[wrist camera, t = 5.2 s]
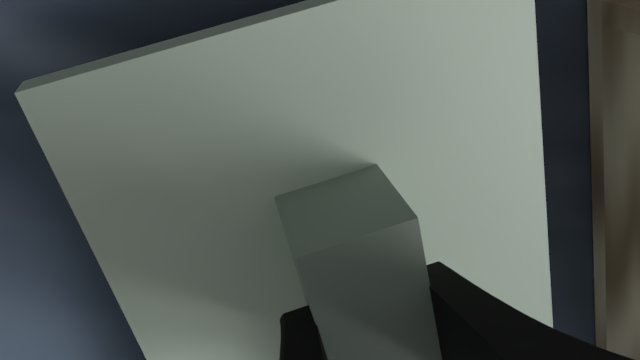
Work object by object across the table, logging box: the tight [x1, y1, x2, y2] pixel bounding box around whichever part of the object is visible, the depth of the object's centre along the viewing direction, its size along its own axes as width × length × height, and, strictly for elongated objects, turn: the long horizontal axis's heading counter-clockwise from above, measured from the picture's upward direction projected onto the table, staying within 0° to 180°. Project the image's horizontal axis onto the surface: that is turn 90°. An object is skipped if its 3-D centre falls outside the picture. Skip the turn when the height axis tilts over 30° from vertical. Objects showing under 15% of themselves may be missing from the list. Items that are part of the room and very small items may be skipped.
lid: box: [14, 0, 553, 360], centre depth 14 cm, size 13×10×4 cm
